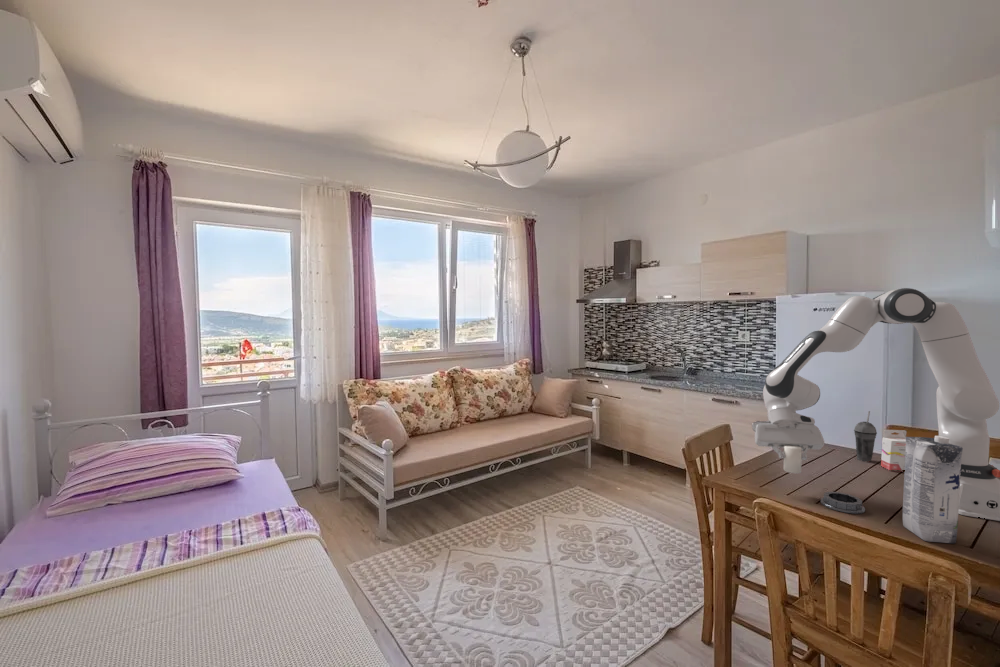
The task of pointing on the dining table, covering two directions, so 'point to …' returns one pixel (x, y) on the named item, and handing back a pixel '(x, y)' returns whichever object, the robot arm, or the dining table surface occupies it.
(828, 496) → the holder
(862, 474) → the dining table surface
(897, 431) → the ink cartridge box
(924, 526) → the juice carton
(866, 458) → the beverage cup
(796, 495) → the dining table surface
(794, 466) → the plug
